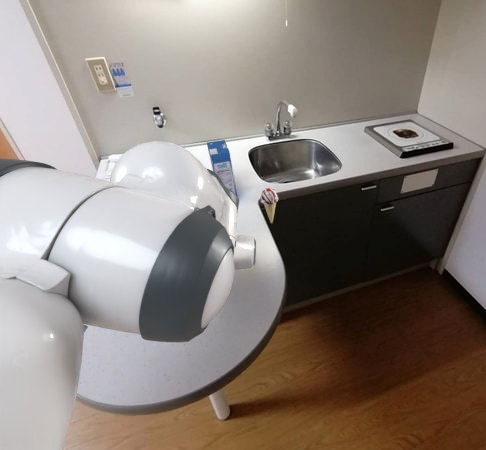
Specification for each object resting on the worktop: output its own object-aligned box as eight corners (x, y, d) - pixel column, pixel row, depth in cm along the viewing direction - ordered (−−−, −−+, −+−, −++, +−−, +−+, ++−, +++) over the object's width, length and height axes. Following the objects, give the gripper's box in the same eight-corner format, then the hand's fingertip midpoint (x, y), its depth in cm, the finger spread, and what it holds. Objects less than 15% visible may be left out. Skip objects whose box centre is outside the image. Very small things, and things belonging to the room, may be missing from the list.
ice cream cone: (259, 226, 102) (255, 188, 92) (271, 218, 105) (268, 180, 96) (271, 233, 99) (268, 195, 90) (283, 224, 103) (281, 187, 93)
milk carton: (238, 201, 113) (229, 151, 100) (221, 205, 112) (210, 155, 99) (233, 187, 120) (224, 139, 107) (217, 190, 119) (206, 142, 106)
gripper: (197, 215, 79) (144, 215, 79) (171, 276, 63) (105, 277, 63) (202, 233, 83) (152, 233, 83) (179, 295, 67) (117, 295, 67)
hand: (131, 253), depth 73 cm, fingers closed on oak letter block, 5 cm apart
